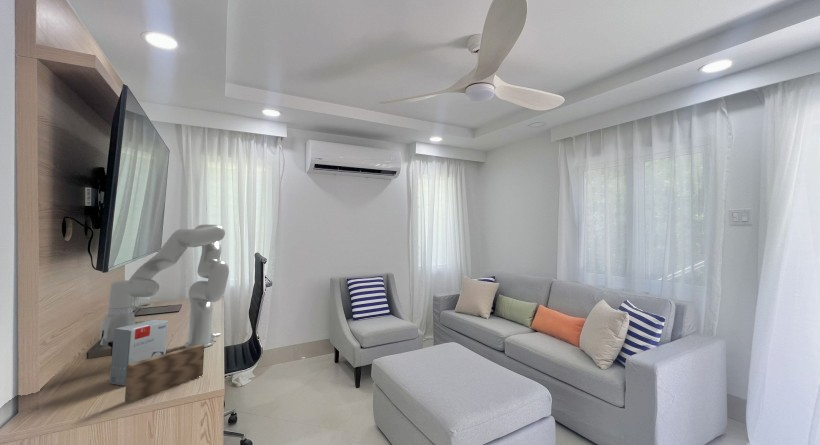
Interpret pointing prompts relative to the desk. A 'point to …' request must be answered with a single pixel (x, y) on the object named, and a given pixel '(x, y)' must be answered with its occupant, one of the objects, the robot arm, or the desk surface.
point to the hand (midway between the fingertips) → (116, 357)
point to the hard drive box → (136, 346)
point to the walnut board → (163, 372)
